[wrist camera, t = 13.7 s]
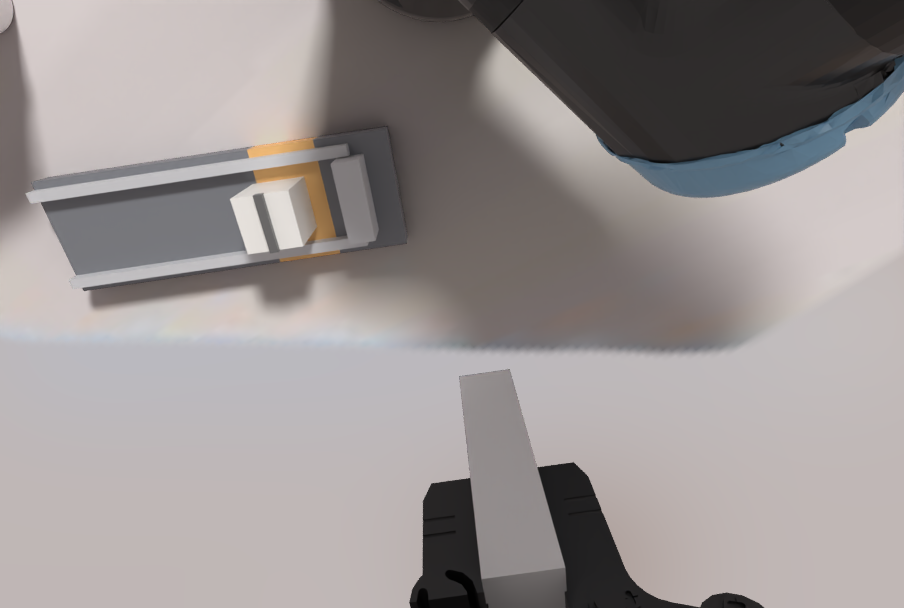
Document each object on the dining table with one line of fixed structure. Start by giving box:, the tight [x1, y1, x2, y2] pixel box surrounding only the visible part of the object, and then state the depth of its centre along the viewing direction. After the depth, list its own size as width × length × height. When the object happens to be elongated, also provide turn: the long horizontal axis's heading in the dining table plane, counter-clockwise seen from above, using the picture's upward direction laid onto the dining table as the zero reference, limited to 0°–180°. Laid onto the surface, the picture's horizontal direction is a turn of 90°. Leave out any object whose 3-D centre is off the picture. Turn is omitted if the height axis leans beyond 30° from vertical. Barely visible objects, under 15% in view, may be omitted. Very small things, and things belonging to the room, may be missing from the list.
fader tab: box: [230, 176, 317, 254], centre depth 37 cm, size 4×4×5 cm
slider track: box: [25, 126, 407, 291], centre depth 39 cm, size 9×27×5 cm, turn 98°
